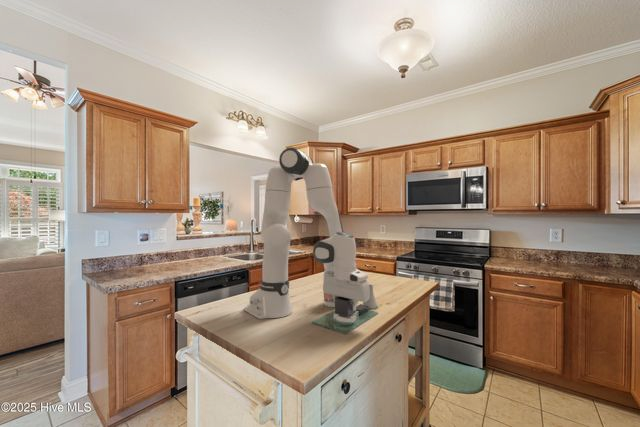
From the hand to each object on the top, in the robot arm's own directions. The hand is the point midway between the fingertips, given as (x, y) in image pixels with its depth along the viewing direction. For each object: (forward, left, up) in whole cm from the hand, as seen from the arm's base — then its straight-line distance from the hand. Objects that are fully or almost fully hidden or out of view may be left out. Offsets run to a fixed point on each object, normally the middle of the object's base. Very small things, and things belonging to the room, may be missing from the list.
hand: (345, 308), depth 108 cm
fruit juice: (-16, +14, -6) cm, 22 cm away
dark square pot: (0, 0, -2) cm, 2 cm away
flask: (-1, +22, -6) cm, 23 cm away
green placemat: (-2, +4, -6) cm, 7 cm away
